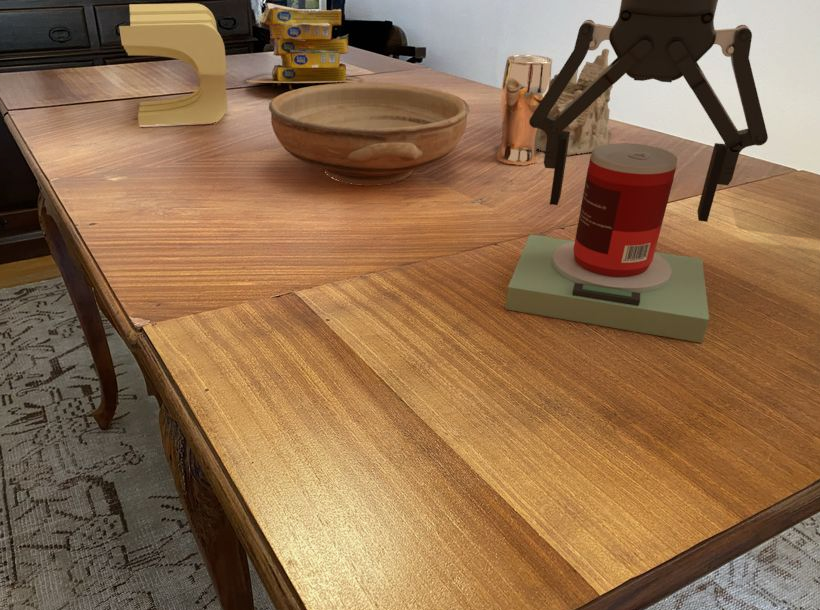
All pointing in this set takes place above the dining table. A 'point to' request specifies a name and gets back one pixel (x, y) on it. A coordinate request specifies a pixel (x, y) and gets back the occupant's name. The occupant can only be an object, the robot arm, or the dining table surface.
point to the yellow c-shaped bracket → (180, 58)
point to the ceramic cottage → (590, 123)
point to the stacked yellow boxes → (305, 45)
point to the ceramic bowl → (368, 128)
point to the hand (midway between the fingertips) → (626, 208)
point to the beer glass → (522, 106)
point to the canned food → (623, 208)
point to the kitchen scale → (611, 292)
